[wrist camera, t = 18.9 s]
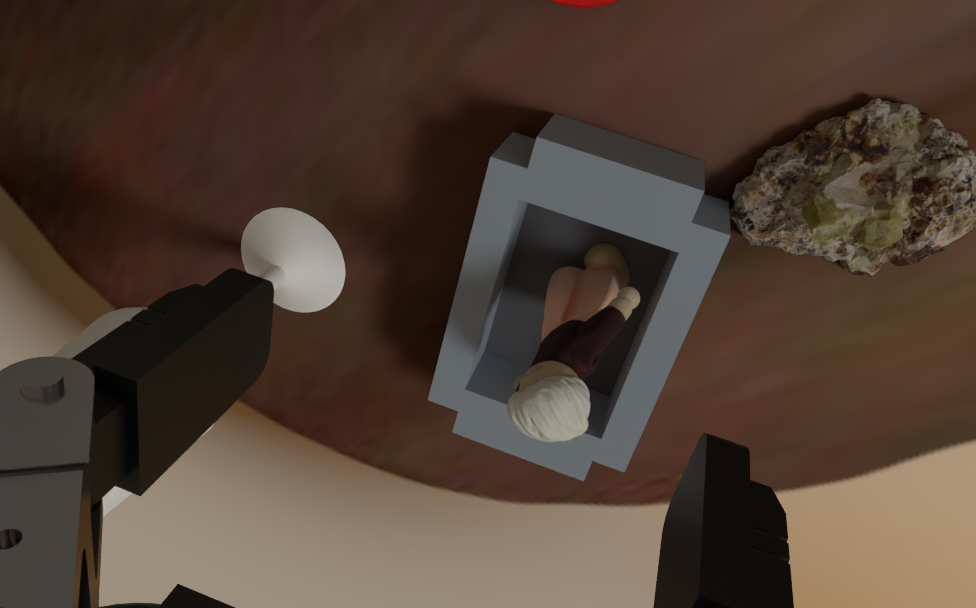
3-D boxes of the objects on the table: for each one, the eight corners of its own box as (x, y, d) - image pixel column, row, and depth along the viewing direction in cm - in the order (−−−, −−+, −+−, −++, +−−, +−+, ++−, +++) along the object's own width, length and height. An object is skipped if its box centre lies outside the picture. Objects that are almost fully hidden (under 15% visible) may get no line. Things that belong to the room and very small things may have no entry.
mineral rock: (1002, 78, 30) (1008, 280, 31) (974, 87, 34) (979, 265, 35) (716, 120, 34) (731, 298, 35) (721, 123, 38) (734, 283, 39)
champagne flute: (238, 196, 44) (-190, 450, 23) (347, 220, 42) (1, 511, 22) (242, 298, 47) (-130, 603, 26) (344, 324, 46) (39, 662, 25)
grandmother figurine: (595, 210, 38) (548, 329, 27) (659, 252, 38) (639, 387, 27) (518, 320, 42) (450, 463, 31) (577, 357, 42) (530, 513, 31)
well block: (741, 173, 36) (745, 204, 32) (623, 442, 44) (615, 493, 40) (520, 102, 37) (498, 124, 33) (446, 378, 45) (422, 421, 42)
